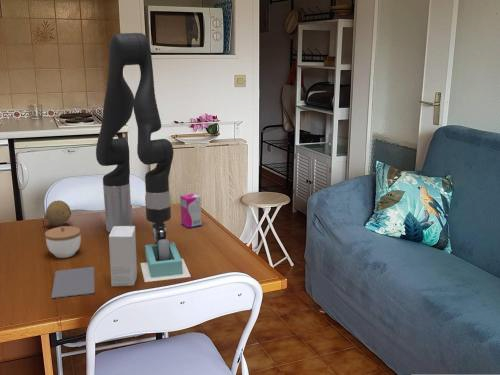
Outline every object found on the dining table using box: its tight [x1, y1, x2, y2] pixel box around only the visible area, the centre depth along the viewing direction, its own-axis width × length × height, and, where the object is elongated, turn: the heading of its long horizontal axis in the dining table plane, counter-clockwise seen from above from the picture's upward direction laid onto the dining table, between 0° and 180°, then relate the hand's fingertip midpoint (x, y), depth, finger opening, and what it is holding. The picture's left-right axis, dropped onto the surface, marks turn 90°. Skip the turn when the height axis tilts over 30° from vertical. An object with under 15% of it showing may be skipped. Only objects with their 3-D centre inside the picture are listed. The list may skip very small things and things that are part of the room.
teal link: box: [144, 241, 182, 278], centre depth 159 cm, size 16×9×4 cm, turn 16°
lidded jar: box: [44, 225, 82, 259], centre depth 169 cm, size 11×11×9 cm
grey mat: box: [50, 266, 96, 300], centre depth 149 cm, size 18×12×1 cm, turn 16°
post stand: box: [140, 238, 191, 283], centre depth 155 cm, size 14×13×10 cm
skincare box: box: [108, 225, 138, 287], centre depth 147 cm, size 8×7×16 cm
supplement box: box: [179, 193, 202, 229], centre depth 196 cm, size 6×6×12 cm
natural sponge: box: [44, 199, 72, 228], centre depth 195 cm, size 9×9×10 cm
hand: (160, 255), depth 166 cm, fingers open, 6 cm apart
